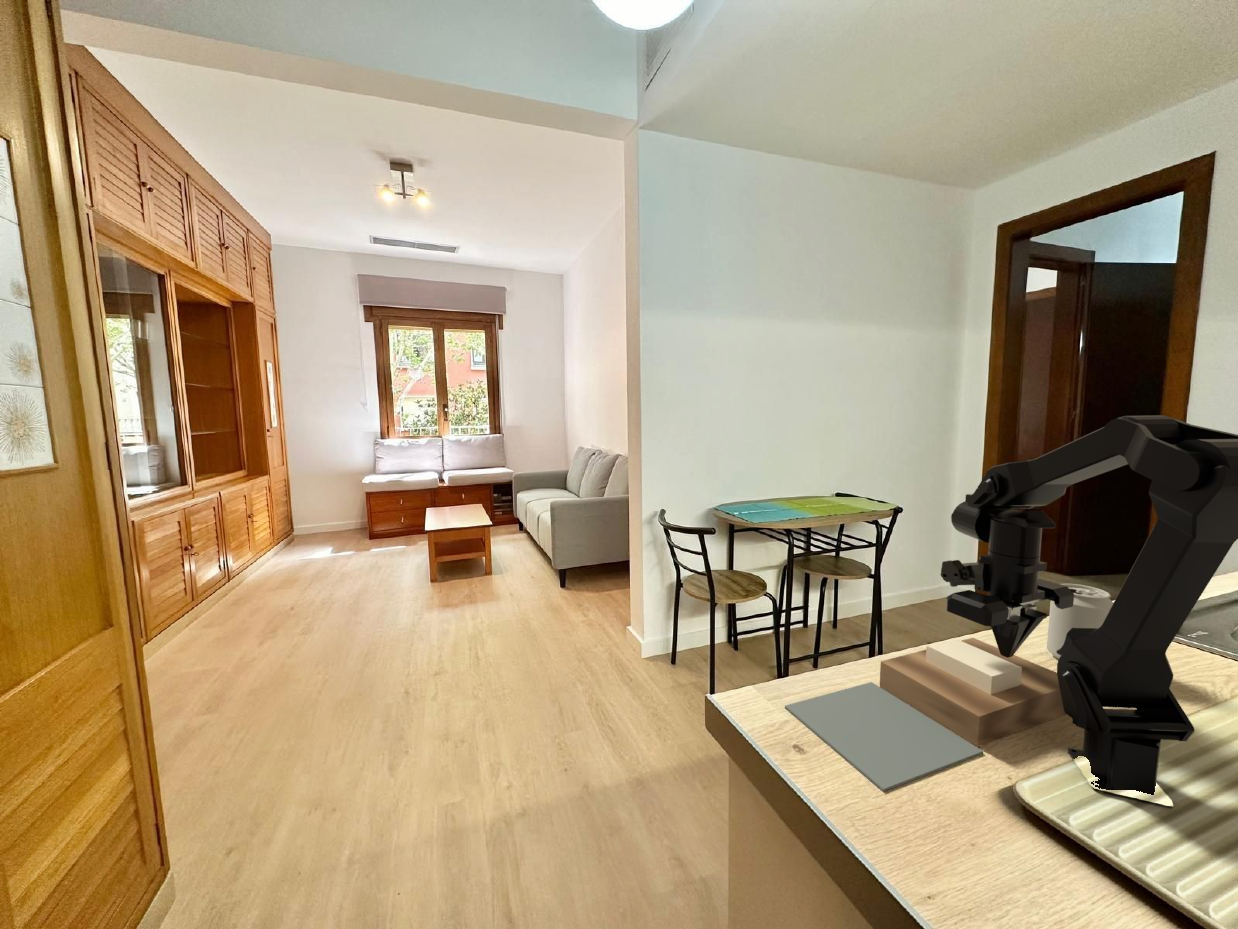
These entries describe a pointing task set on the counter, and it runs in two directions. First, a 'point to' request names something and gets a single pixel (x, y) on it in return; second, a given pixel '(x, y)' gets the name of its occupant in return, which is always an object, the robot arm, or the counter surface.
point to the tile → (974, 665)
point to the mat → (882, 734)
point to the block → (974, 696)
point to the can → (1077, 614)
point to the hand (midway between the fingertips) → (1006, 656)
